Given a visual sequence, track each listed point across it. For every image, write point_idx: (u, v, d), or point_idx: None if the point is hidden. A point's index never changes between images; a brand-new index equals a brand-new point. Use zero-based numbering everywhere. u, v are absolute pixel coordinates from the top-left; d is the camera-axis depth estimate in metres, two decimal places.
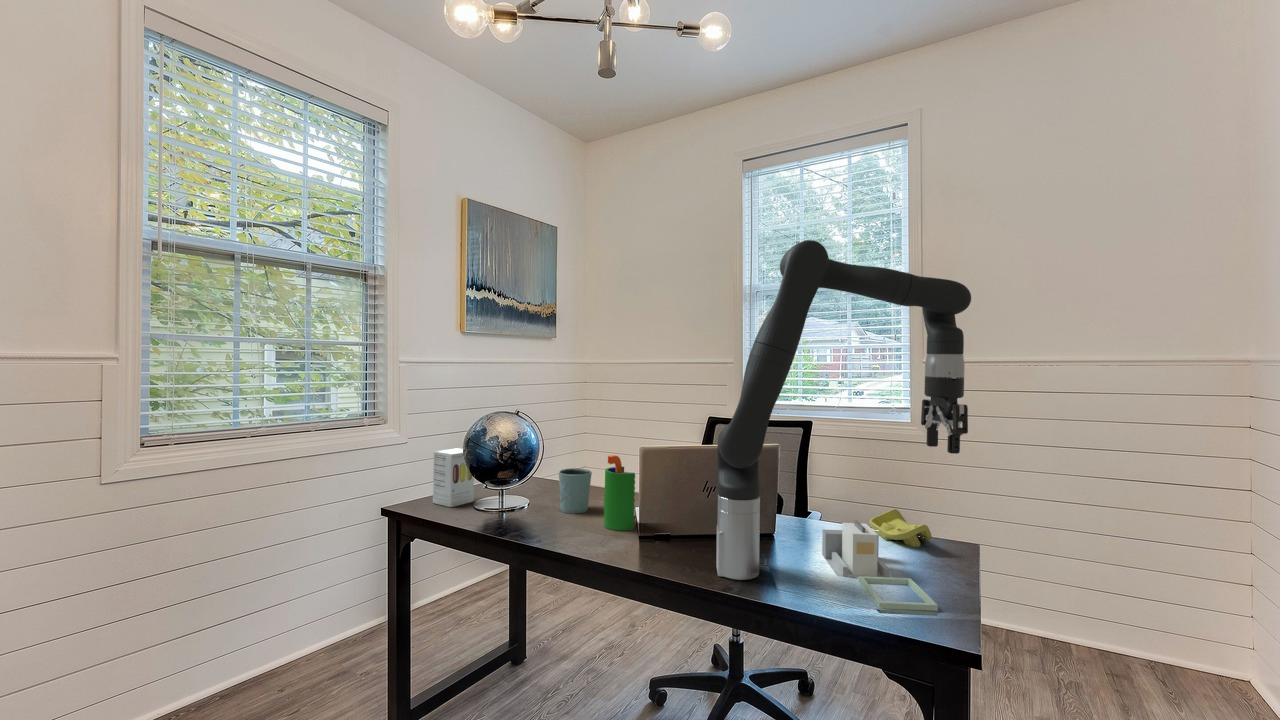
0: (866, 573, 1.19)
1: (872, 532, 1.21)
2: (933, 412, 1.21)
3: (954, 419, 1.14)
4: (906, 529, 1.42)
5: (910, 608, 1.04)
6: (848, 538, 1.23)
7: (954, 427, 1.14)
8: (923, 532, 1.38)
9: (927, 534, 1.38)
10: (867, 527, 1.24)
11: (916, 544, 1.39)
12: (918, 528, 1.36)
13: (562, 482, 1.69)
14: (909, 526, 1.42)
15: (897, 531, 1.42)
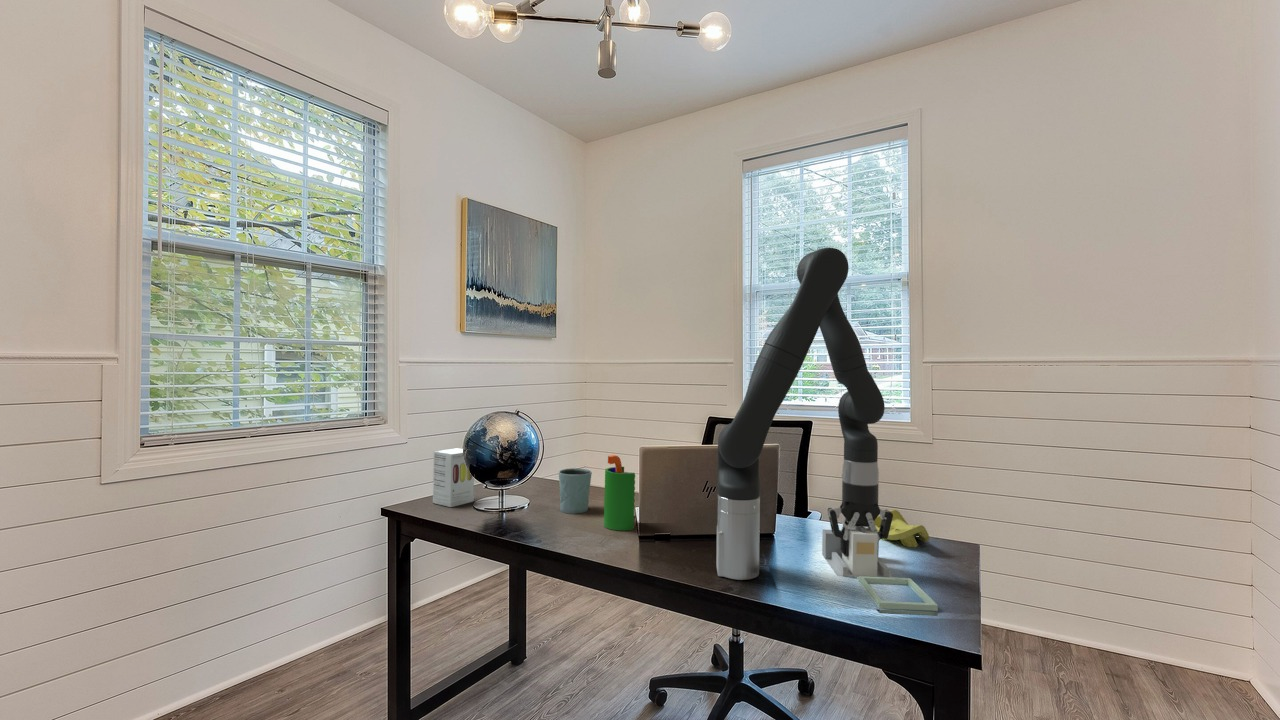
0: (866, 573, 1.19)
1: (872, 532, 1.21)
2: None
3: (888, 526, 1.22)
4: (904, 529, 1.41)
5: (910, 608, 1.04)
6: (848, 538, 1.23)
7: (886, 533, 1.22)
8: (920, 533, 1.38)
9: (924, 535, 1.37)
10: None
11: (913, 545, 1.38)
12: (914, 529, 1.36)
13: (562, 482, 1.69)
14: (907, 527, 1.42)
15: (895, 531, 1.42)
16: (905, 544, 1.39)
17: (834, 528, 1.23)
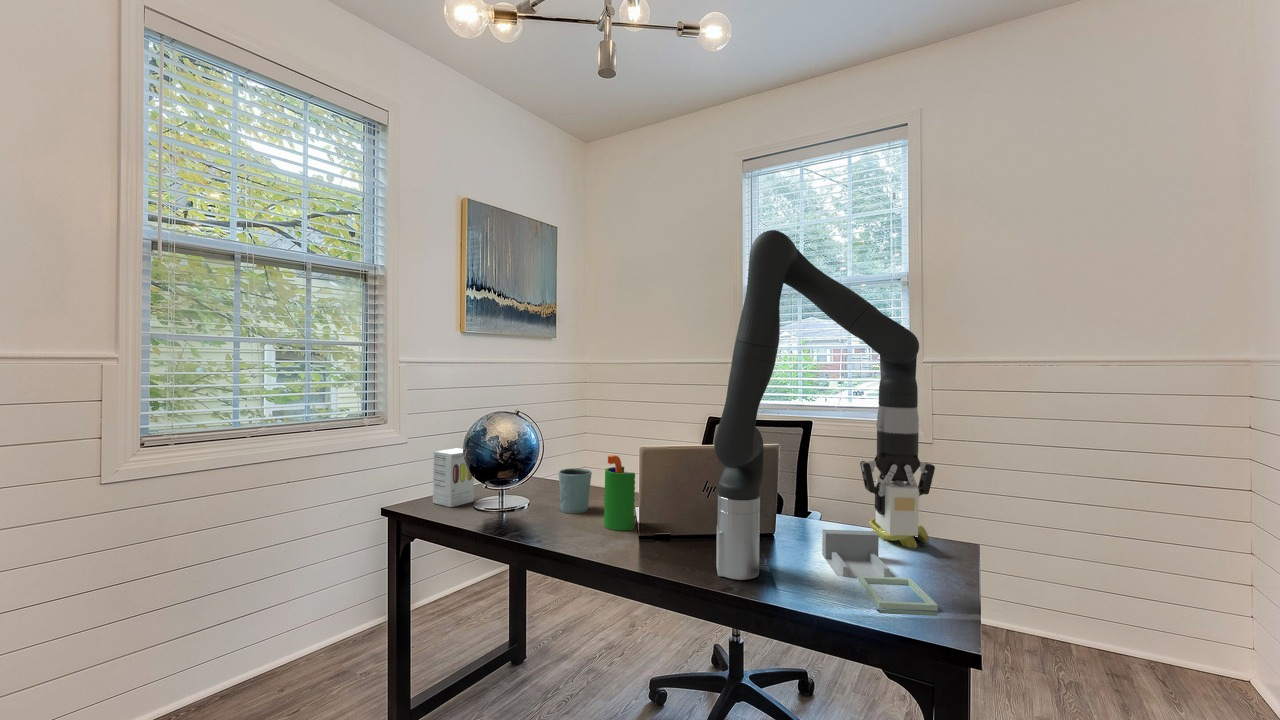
0: (905, 532, 1.06)
1: (912, 486, 1.07)
2: None
3: (929, 480, 1.08)
4: None
5: (910, 608, 1.04)
6: None
7: (926, 488, 1.08)
8: (920, 533, 1.37)
9: (924, 535, 1.37)
10: None
11: (913, 545, 1.38)
12: None
13: (562, 482, 1.69)
14: None
15: None
16: (904, 545, 1.39)
17: (868, 483, 1.09)
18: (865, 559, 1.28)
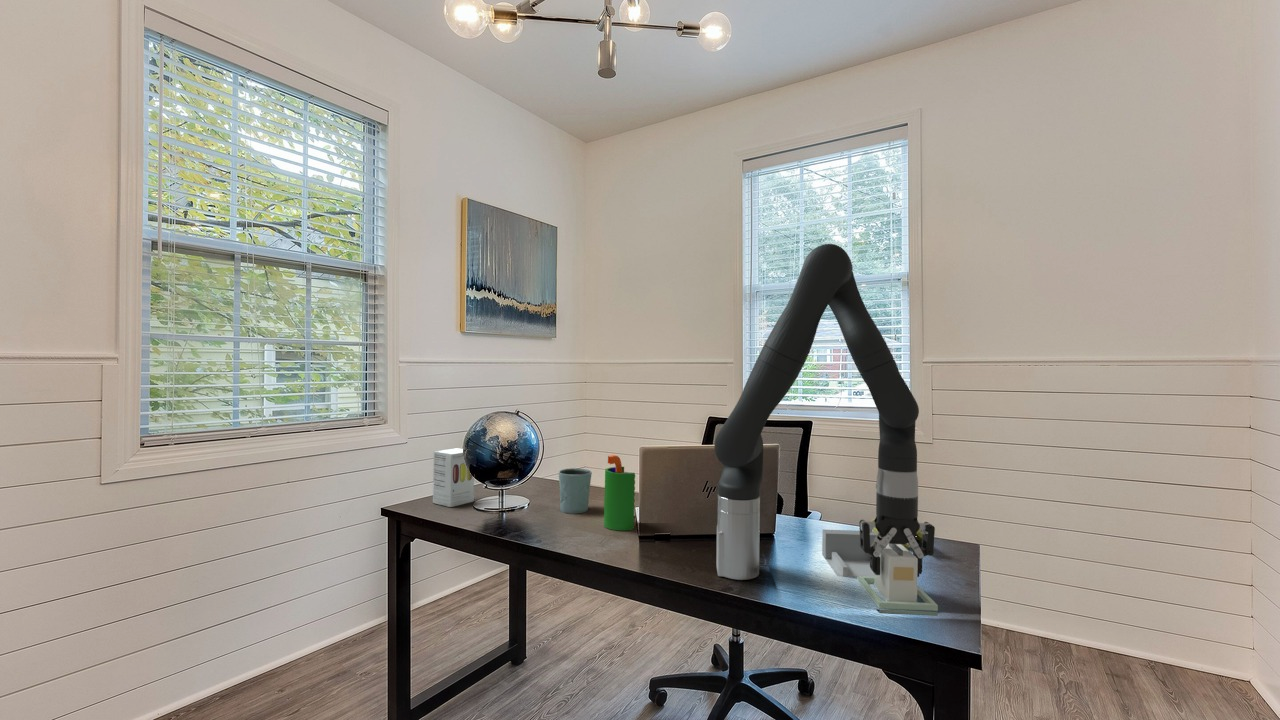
0: None
1: (911, 555, 1.07)
2: None
3: (931, 541, 1.08)
4: None
5: (910, 608, 1.04)
6: (882, 561, 1.10)
7: (930, 549, 1.08)
8: (919, 534, 1.37)
9: None
10: (904, 549, 1.11)
11: None
12: None
13: (562, 482, 1.69)
14: None
15: None
16: (903, 545, 1.38)
17: (864, 543, 1.09)
18: (865, 559, 1.28)
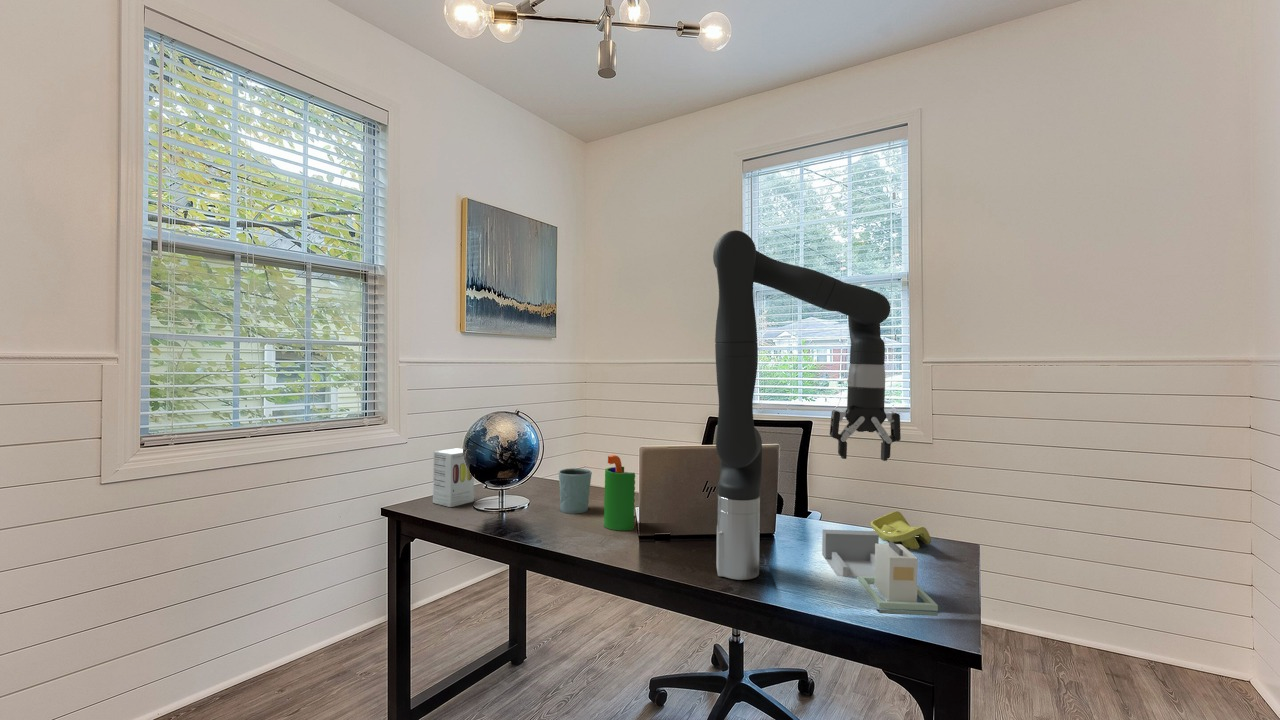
0: None
1: (911, 555, 1.07)
2: None
3: (898, 428, 1.19)
4: (905, 531, 1.40)
5: (910, 608, 1.04)
6: (882, 561, 1.10)
7: (897, 435, 1.19)
8: (922, 534, 1.36)
9: (926, 536, 1.36)
10: (904, 549, 1.11)
11: (915, 546, 1.37)
12: (916, 530, 1.34)
13: (562, 482, 1.69)
14: (908, 528, 1.40)
15: (896, 533, 1.41)
16: (906, 546, 1.38)
17: (833, 429, 1.20)
18: (865, 559, 1.28)
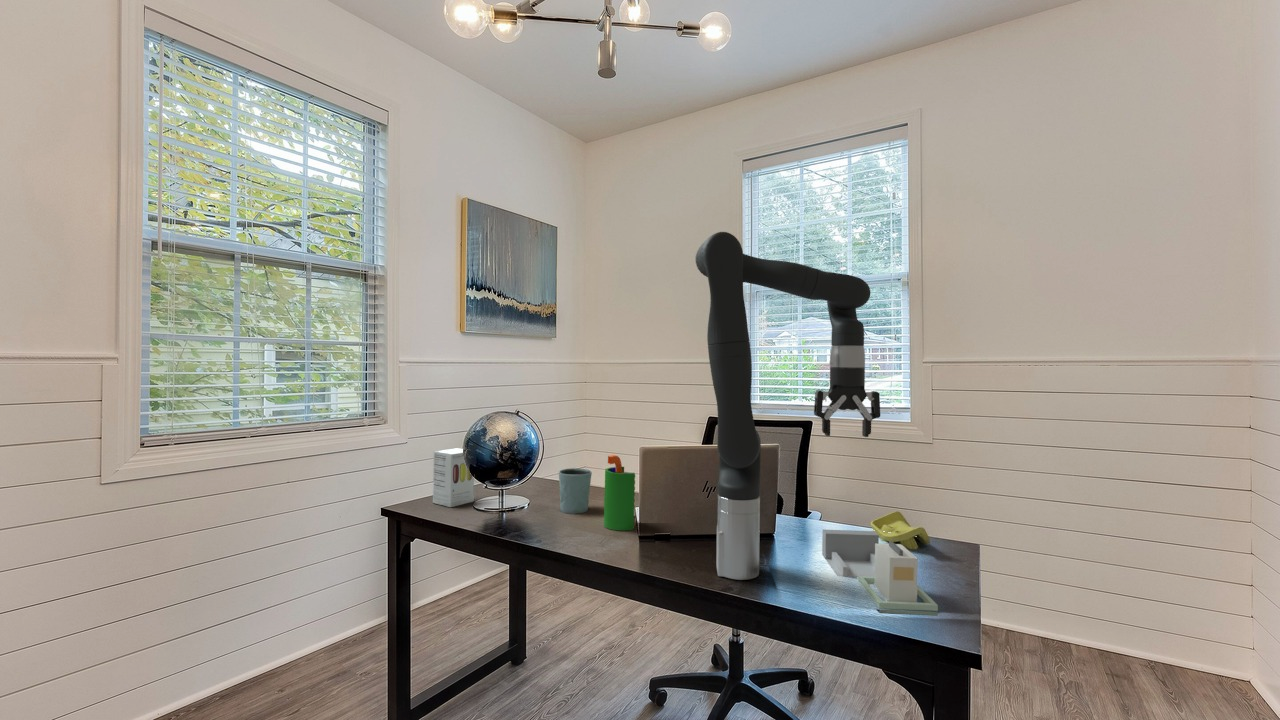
0: None
1: (911, 555, 1.07)
2: None
3: (877, 405, 1.25)
4: (904, 531, 1.40)
5: (910, 608, 1.04)
6: (882, 561, 1.10)
7: (877, 412, 1.25)
8: (920, 535, 1.36)
9: (924, 537, 1.36)
10: (904, 549, 1.11)
11: (913, 547, 1.37)
12: (914, 531, 1.34)
13: (562, 482, 1.69)
14: (907, 528, 1.40)
15: (895, 533, 1.40)
16: (905, 546, 1.38)
17: (817, 408, 1.26)
18: (865, 559, 1.28)
